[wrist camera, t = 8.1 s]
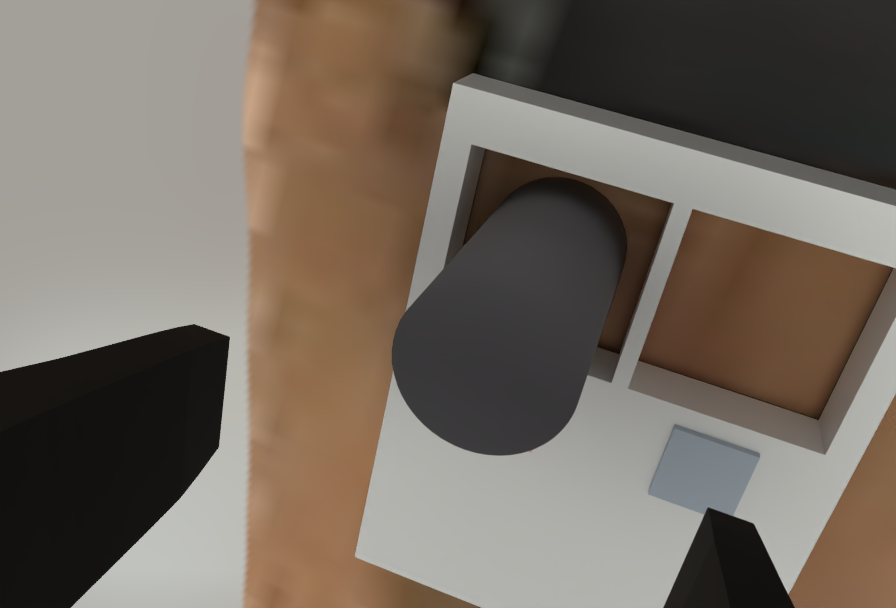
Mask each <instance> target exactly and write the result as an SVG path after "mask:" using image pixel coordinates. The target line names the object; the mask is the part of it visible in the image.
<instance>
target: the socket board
mask: <svg viewBox="0 0 896 608" xmlns="http://www.w3.org/2000/svg"><path fill="white" fill-rule="evenodd" d="M485 148H486V149H489V150H493V151H496V152H500V153H503V154H506V155H510V156H513V157H517V158H520V159H524V160H527V161H530V162H534V163H537V164H541V165H544V166H548V167H551V168H554V169H558V170H561V171H565V172H568V173H572V174H575V175H578V176H582V177H585V178H589V179H592V180H595V181H599V182H602V183H606V184H609V185H613V186H616V187H619V188H623V189H626V190H630V191H633V192H637V193H640V194H643V195H647V196H650V197H654V198H657V199H661V200H664V201H667V202H671V203H672V204H671V207H670V209H669V212H668V215H667V218H666V221H665V224H664V227H663V230H662V232H661V235H660V238H659V241H658V244H657V247H656V250H655V253H654V255H653V258H652V261H651V264H650V267H649V270H648V273H647V276H646V279H645V281H644V284H643V287H642V290H641V293H640V296H639V299H638V302H637V304H636V307H635V310H634V313H633V316H632V319H631V322H630V325H629V327H628V330H627V333H626V336H625V339H624V342H623V345H622V348H621V350H620V353H619V354H617V353H614V352H611V351H608V350H605V349H602V348H599V347H597V348H596V351H595V354H594V357H593V360H592V363H591V366H590V369H589V372H588V375H587V378H586V381H585V384H584V387H583V390H582V393H581V396H580V399H579V402H578V405H577V407H576V410H575V412H574V414H573V416H572V418H571V419H570V421H569V423H568V424H567V425H566V426H565V427H564V429H563V430H562V431H561V432H560V433H559V434H558V435H557V436H555V437H554V438H553V439H552V440H550V441H549V442H547V443H546V444H544V445H542V446H540V447H538V448H536V449H534V450H531V451H527V452H524V453H520V454H515V455H504V456H495V455H484V454H479V453H474V452H471V451H467V450H464V449H462V448H459V447H457V446H454V445H452V444H450V443H448V442H447V441H445V440H443V439H441V438H440V437H438V436H437V435H436V434H434V433H433V432H431V431H430V430H429V429H428V428H427V427H426V426H424V425H423V424H422V423H421V422H420V420H419V419H418V418H417V417H416V416H415V415H414V414H413V412H412V411H411V410H410V408H409V407H408V406H407V404H406V402H405V400H404V399H403V397H402V395H401V393H400V391H399V388H398V386H397V383H396V379H395V376H394V371H393V375H392V380H391V385H390V389H389V394H388V399H387V404H386V409H385V414H384V418H383V423H382V428H381V433H380V438H379V442H378V447H377V452H376V457H375V462H374V466H373V471H372V476H371V481H370V486H369V490H368V495H367V500H366V505H365V510H364V515H363V519H362V524H361V529H360V534H359V539H358V543H357V548H356V553H355V557H356V558H359V559H361V560H364V561H366V562H369V563H371V564H374V565H376V566H379V567H381V568H384V569H386V570H389V571H391V572H394V573H396V574H399V575H401V576H404V577H406V578H409V579H411V580H414V581H416V582H419V583H421V584H424V585H426V586H429V587H431V588H434V589H436V590H439V591H441V592H444V593H446V594H449V595H451V596H454V597H456V598H459V599H461V600H464V601H466V602H469V603H471V604H474V605H476V606H479V607H481V608H663V607H664V605H665V603H666V600H667V598H668V596H669V594H670V591H671V589H672V587H673V585H674V582H675V580H676V578H677V576H678V573H679V571H680V569H681V566H682V564H683V562H684V560H685V557H686V555H687V553H688V551H689V548H690V546H691V544H692V542H693V539H694V537H695V535H696V533H697V530H698V528H699V526H700V524H701V521H702V519H703V517H704V515H705V512H706V510H707V508H708V507H709V508H712V509H715V510H717V511H720V512H723V513H726V514H729V515H731V516H734V517H737V518H740V519H743V520H746V521H748V522H751V523H754V525H755V527H756V529H757V531H758V533H759V535H760V537H761V539H762V541H763V543H764V545H765V547H766V549H767V552H768V554H769V556H770V558H771V560H772V562H773V564H774V566H775V568H776V570H777V573H778V575H779V577H780V579H781V581H782V583H783V585H784V587H785V589H786V591H787V593H788V594H789V592H790V590H791V589H792V587H793V585H794V583H795V581H796V579H797V577H798V575H799V574H800V572H801V570H802V568H803V566H804V564H805V562H806V560H807V559H808V557H809V555H810V553H811V551H812V549H813V547H814V545H815V544H816V542H817V540H818V538H819V536H820V534H821V532H822V531H823V529H824V527H825V525H826V523H827V521H828V519H829V517H830V516H831V514H832V512H833V510H834V508H835V506H836V504H837V502H838V501H839V499H840V497H841V495H842V493H843V491H844V489H845V487H846V486H847V484H848V482H849V480H850V478H851V476H852V474H853V473H854V471H855V469H856V467H857V465H858V463H859V461H860V459H861V458H862V456H863V454H864V452H865V450H866V448H867V446H868V444H869V443H870V441H871V439H872V437H873V435H874V433H875V431H876V429H877V428H878V426H879V424H880V422H881V420H882V418H883V416H884V415H885V413H886V411H887V409H888V407H889V405H890V403H891V401H892V400H893V398H894V396H895V394H896V190H895V189H892V188H888V187H884V186H881V185H877V184H873V183H870V182H866V181H863V180H859V179H855V178H852V177H848V176H844V175H841V174H837V173H833V172H830V171H826V170H823V169H819V168H815V167H812V166H808V165H804V164H801V163H797V162H794V161H790V160H786V159H783V158H779V157H775V156H772V155H768V154H764V153H761V152H757V151H754V150H750V149H746V148H743V147H739V146H735V145H732V144H728V143H725V142H721V141H717V140H714V139H710V138H706V137H703V136H699V135H695V134H692V133H688V132H685V131H681V130H677V129H674V128H670V127H666V126H663V125H659V124H656V123H652V122H648V121H645V120H641V119H637V118H634V117H630V116H626V115H623V114H619V113H616V112H612V111H608V110H605V109H601V108H597V107H594V106H590V105H587V104H583V103H579V102H576V101H572V100H568V99H565V98H561V97H557V96H554V95H550V94H547V93H543V92H539V91H536V90H532V89H528V88H525V87H521V86H518V85H514V84H510V83H507V82H503V81H499V80H496V79H492V78H488V77H485V76H481V75H478V74H474V73H472V74H470V75H468V76H466V77H464V78H462V79H460V80H458V81H456V82H454V83H453V86H452V91H451V96H450V101H449V106H448V111H447V115H446V120H445V125H444V130H443V135H442V139H441V144H440V149H439V154H438V159H437V163H436V168H435V173H434V178H433V183H432V187H431V192H430V197H429V202H428V207H427V212H426V216H425V221H424V226H423V231H422V236H421V240H420V245H419V250H418V255H417V260H416V264H415V269H414V274H413V279H412V284H411V288H410V293H409V298H408V303H407V308H406V311H407V309H408V308H409V307H410V306H411V305H412V304H413V302H414V301H415V300H416V299H417V298H418V297H419V296H420V295H421V294H422V292H423V291H424V290H425V289H426V288H427V287H428V286H429V285H430V283H431V282H432V281H433V280H434V279H435V278H436V277H437V276H438V274H439V273H440V272H441V271H442V270H443V269H444V268H445V267H446V265H447V264H448V263H449V262H450V261H451V260H452V259H453V258H454V256H455V255H456V254H457V253H458V252H459V251H460V250H461V249H462V247H463V242H464V238H465V234H466V229H467V225H468V221H469V217H470V212H471V208H472V204H473V199H474V195H475V191H476V187H477V182H478V178H479V174H480V169H481V165H482V161H483V157H484V152H485ZM692 209H695V210H698V211H702V212H705V213H708V214H712V215H715V216H719V217H722V218H726V219H729V220H732V221H736V222H739V223H743V224H746V225H749V226H753V227H756V228H760V229H763V230H767V231H770V232H773V233H777V234H780V235H784V236H787V237H791V238H794V239H797V240H801V241H804V242H808V243H811V244H815V245H818V246H821V247H825V248H828V249H832V250H835V251H838V252H842V253H845V254H849V255H852V256H856V257H859V258H862V259H866V260H869V261H873V262H876V263H880V264H883V265H886V266H890V267H893V270H892V272H891V274H890V276H889V278H888V280H887V282H886V284H885V286H884V288H883V290H882V293H881V295H880V297H879V299H878V301H877V303H876V305H875V307H874V309H873V311H872V313H871V315H870V317H869V319H868V321H867V323H866V325H865V327H864V329H863V331H862V333H861V335H860V337H859V339H858V341H857V343H856V345H855V347H854V349H853V351H852V353H851V355H850V357H849V359H848V361H847V363H846V365H845V368H844V370H843V372H842V374H841V376H840V378H839V380H838V382H837V384H836V386H835V388H834V390H833V392H832V394H831V396H830V398H829V400H828V402H827V404H826V406H825V408H824V410H823V412H822V414H821V416H820V418H819V420H817V419H814V418H811V417H808V416H805V415H802V414H799V413H796V412H792V411H789V410H786V409H783V408H780V407H777V406H774V405H771V404H768V403H765V402H762V401H759V400H756V399H753V398H750V397H747V396H744V395H741V394H738V393H735V392H732V391H729V390H726V389H723V388H720V387H717V386H714V385H711V384H708V383H705V382H702V381H699V380H696V379H692V378H689V377H686V376H683V375H680V374H677V373H674V372H671V371H668V370H665V369H662V368H659V367H656V366H653V365H650V364H647V363H644V362H641V361H638V359H639V356H640V354H641V351H642V348H643V345H644V342H645V340H646V337H647V334H648V331H649V329H650V326H651V323H652V320H653V317H654V315H655V312H656V309H657V306H658V304H659V301H660V298H661V295H662V293H663V290H664V287H665V284H666V281H667V279H668V276H669V273H670V270H671V268H672V265H673V262H674V259H675V257H676V254H677V251H678V248H679V245H680V243H681V240H682V237H683V234H684V232H685V229H686V226H687V223H688V220H689V218H690V215H691V212H692Z"/></svg>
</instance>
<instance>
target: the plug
mask: <svg viewBox="0 0 896 608" xmlns="http://www.w3.org/2000/svg"><path fill="white" fill-rule="evenodd" d="M626 251H627V240H626V234H625V229H624V226H623V223H622V220H621V218H620V216H619V214H618V213H617V211H616V210H615V208H614V207H613V205H612V204H611V203H610V202H609V201H608V200H607V198H605V197H604V196H603V195H602V194H601V193H600V192H598V191H597V190H595V189H594V188H592V187H590V186H588V185H587V184H585V183H582V182H579V181H576V180H573V179H568V178H560V177H551V178H543V179H538V180H535V181H532V182H529V183H527V184H525V185H523V186H521V187H519V188H518V189H516V190H515V191H514V192H513V193H511V194H510V195H509V196H508V197H507V198H506V199H505V200H504V202H503V203H502V204H501V205H500V206H499V207H498V208H497V209H496V211H495V212H494V213H493V214H492V215H491V216H490V217H489V218H488V219H487V221H486V222H485V223H484V224H483V225H482V226H481V227H480V228H479V230H478V231H477V232H476V233H475V234H474V235H473V236H472V237H471V239H470V240H469V241H468V242H467V243H466V244H465V245H464V246H463V248H462V249H461V250H460V251H459V252H458V253H457V254H456V255H455V256H454V258H453V259H452V260H451V261H450V262H449V263H448V264H447V265H446V267H445V268H444V269H443V270H442V271H441V272H440V273H439V274H438V276H437V277H436V278H435V279H434V280H433V281H432V282H431V283H430V285H429V286H428V287H427V288H426V289H425V290H424V291H423V292H422V294H421V295H420V296H419V297H418V298H417V299H416V300H415V301H414V302H413V304H412V305H411V306H410V307H409V308H408V309H407V311H406V312H405V314H404V315H403V317H402V318H401V320H400V322H399V324H398V327H397V329H396V332H395V336H394V340H393V347H392V365H393V371H394V376H395V379H396V383H397V386H398V388H399V391H400V393H401V395H402V397H403V399H404V400H405V402H406V404H407V406H408V407H409V408H410V410H411V411H412V412H413V414H414V415H415V416H416V417H417V418H418V419H419V420H420V422H421V423H422V424H423V425H424V426H426V427H427V428H428V429H429V430H430V431H431V432H433V433H434V434H436V435H437V436H438V437H440V438H441V439H443V440H445V441H447V442H448V443H450V444H452V445H454V446H457V447H459V448H462V449H464V450H467V451H471V452H474V453H479V454H484V455H495V456H504V455H515V454H520V453H524V452H527V451H531V450H534V449H536V448H538V447H540V446H542V445H544V444H546V443H547V442H549V441H550V440H552V439H553V438H554V437H555V436H557V435H558V434H559V433H560V432H561V431H562V430H563V429H564V427H565V426H566V425H567V424H568V423H569V421H570V419H571V418H572V416H573V414H574V412H575V410H576V407H577V405H578V402H579V399H580V396H581V393H582V390H583V387H584V384H585V381H586V378H587V375H588V372H589V369H590V366H591V363H592V360H593V357H594V354H595V351H596V348H597V345H598V342H599V339H600V336H601V333H602V330H603V327H604V324H605V321H606V318H607V314H608V311H609V308H610V305H611V302H612V299H613V296H614V293H615V290H616V287H617V284H618V281H619V278H620V275H621V272H622V269H623V266H624V262H625V258H626Z"/></svg>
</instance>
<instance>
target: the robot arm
mask: <svg viewBox="0 0 896 608" xmlns="http://www.w3.org/2000/svg"><path fill="white" fill-rule="evenodd" d="M229 340H230V337H228V336H225V335H222V334H220V333H217V332H214V331H211V330H208V329H206V328H203V327H200V326H197V325H195V324H193V325H188V326H182V327H177V328H173V329H169V330H164V331H161V332H157V333H153V334H149V335H145V336H141V337H138V338H134V339H131V340H127V341H123V342H119V343H116V344H112V345H108V346H104V347H101V348H97V349H93V350H89V351H86V352H82V353H78V354H75V355H71V356H67V357H63V358H59V359H55V360H51V361H47V362H42V363H38V364H34V365H29V366H25V367H21V368H16V369H12V370H8V371H3V372H0V608H71V607H72V606H73V605H74V604H75V603H76V601H78V599H80V598H81V597H82V596H83V595H84V594H85V593H86V592H87V591H88V590H89V589H90V588H91V586H93V585H94V584H95V583H96V582H97V581H98V580H99V579H100V578H101V577H102V576H103V575H104V574H105V573H106V572H107V571H108V570H109V569H110V568H111V567H112V566H113V565H114V564H115V563H116V562H117V561H118V560H119V559H120V558H121V557H122V556H123V555H124V554H125V553H126V552H127V551H128V550H129V549H130V548H131V547H132V546H133V545H134V544H135V543H136V542H137V541H138V540H139V539H140V538H141V537H142V536H143V535H144V534H145V533H146V532H147V531H148V530H149V529H150V528H151V527H152V526H153V525H154V524H155V523H156V522H157V521H158V520H159V519H160V518H161V517H162V516H163V515H164V514H165V513H166V512H167V511H168V510H169V509H170V508H171V507H172V506H173V505H174V504H175V503H176V502H177V501H178V500H179V499H180V498H181V496H182V495H183V494H184V493H185V491H186V490H187V489H188V487H189V486H190V485H191V484H192V482H193V481H194V480H195V479H196V477H197V476H198V475H199V473H200V472H201V470H202V469H203V468H204V467H205V465H206V464H207V462H208V461H209V460H210V458H211V457H212V456H213V454H214V453H215V451H216V450H217V449H218V447H219V439H220V430H221V419H222V410H223V399H224V390H225V380H226V370H227V359H228V350H229ZM663 608H795V607H794V605H793V603H792V601H791V599H790V597H789V595H788V593H787V591H786V589H785V587H784V585H783V583H782V581H781V579H780V577H779V575H778V573H777V570H776V568H775V566H774V564H773V562H772V560H771V558H770V556H769V554H768V552H767V549H766V547H765V545H764V543H763V541H762V539H761V537H760V535H759V533H758V531H757V529H756V527H755V525H754V523H751V522H748V521H746V520H743V519H740V518H737V517H734V516H731V515H729V514H726V513H723V512H720V511H717V510H715V509H712V508H709V507H708V508H707V510H706V512H705V515H704V517H703V519H702V521H701V524H700V526H699V528H698V530H697V533H696V535H695V537H694V539H693V542H692V544H691V546H690V548H689V551H688V553H687V555H686V557H685V560H684V562H683V564H682V566H681V569H680V571H679V573H678V576H677V578H676V580H675V582H674V585H673V587H672V589H671V591H670V594H669V596H668V598H667V600H666V603H665V605H664V607H663Z"/></svg>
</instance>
